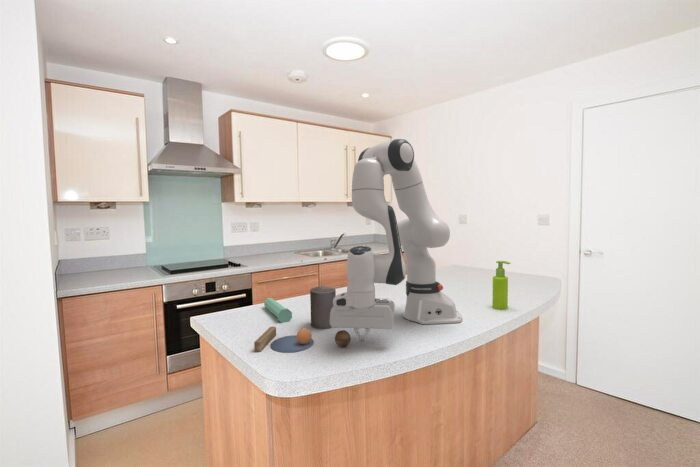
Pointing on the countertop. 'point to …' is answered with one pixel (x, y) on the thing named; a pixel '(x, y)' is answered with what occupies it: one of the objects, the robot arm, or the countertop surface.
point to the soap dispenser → (500, 287)
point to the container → (278, 310)
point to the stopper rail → (264, 339)
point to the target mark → (289, 344)
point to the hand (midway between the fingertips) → (362, 341)
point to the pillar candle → (321, 306)
